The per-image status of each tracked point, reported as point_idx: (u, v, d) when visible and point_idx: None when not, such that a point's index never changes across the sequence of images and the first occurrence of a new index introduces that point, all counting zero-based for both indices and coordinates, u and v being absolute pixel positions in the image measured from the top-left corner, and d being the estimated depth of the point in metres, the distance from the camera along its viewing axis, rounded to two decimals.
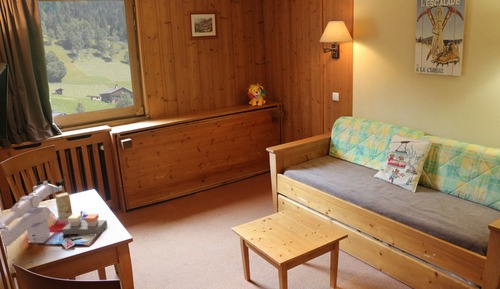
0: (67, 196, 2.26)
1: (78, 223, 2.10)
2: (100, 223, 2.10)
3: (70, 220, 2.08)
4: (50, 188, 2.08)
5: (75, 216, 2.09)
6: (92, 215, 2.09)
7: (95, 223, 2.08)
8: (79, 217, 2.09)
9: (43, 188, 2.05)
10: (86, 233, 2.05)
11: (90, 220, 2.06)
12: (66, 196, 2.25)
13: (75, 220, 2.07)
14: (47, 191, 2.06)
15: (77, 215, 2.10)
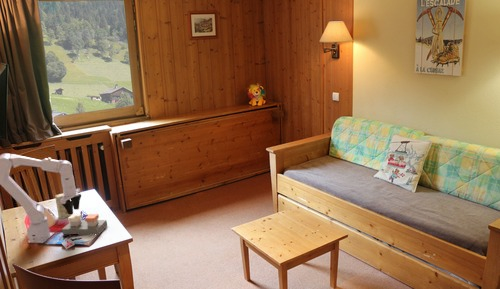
0: None
1: (78, 223, 2.10)
2: (100, 223, 2.10)
3: (70, 220, 2.08)
4: (68, 195, 2.03)
5: (75, 216, 2.09)
6: (92, 215, 2.09)
7: (95, 223, 2.08)
8: (79, 217, 2.09)
9: (71, 187, 2.03)
10: (86, 233, 2.05)
11: (90, 220, 2.06)
12: None
13: (75, 220, 2.07)
14: (66, 189, 2.03)
15: (77, 215, 2.10)
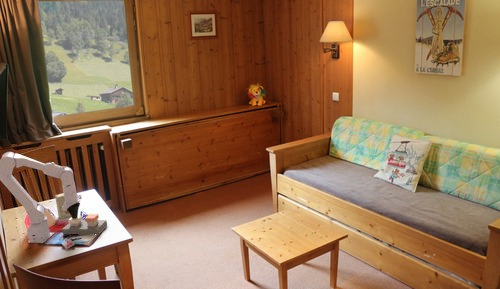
0: None
1: None
2: (100, 223, 2.10)
3: (70, 222, 2.08)
4: (69, 201, 2.04)
5: (76, 218, 2.09)
6: (92, 215, 2.09)
7: (95, 223, 2.08)
8: (79, 219, 2.10)
9: (73, 194, 2.04)
10: (86, 233, 2.05)
11: (90, 220, 2.06)
12: None
13: (75, 222, 2.07)
14: (68, 196, 2.03)
15: (77, 217, 2.10)
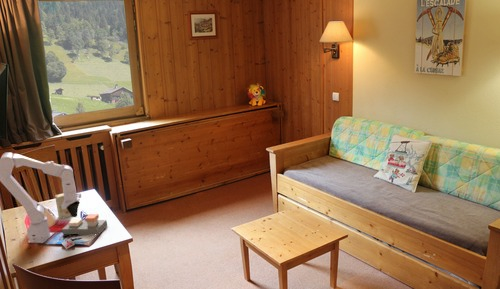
0: None
1: None
2: (100, 223, 2.10)
3: (71, 225, 2.08)
4: (69, 200, 2.04)
5: (76, 221, 2.09)
6: (92, 215, 2.09)
7: (95, 223, 2.08)
8: (80, 222, 2.10)
9: (72, 192, 2.04)
10: (86, 233, 2.05)
11: (90, 220, 2.06)
12: None
13: (76, 225, 2.08)
14: (67, 194, 2.03)
15: (78, 220, 2.10)
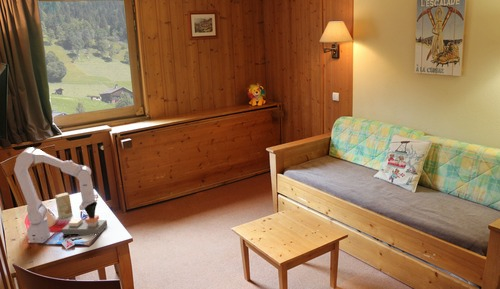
0: (67, 196, 2.26)
1: None
2: (100, 223, 2.10)
3: (71, 225, 2.08)
4: (87, 201, 2.03)
5: (76, 221, 2.09)
6: None
7: (95, 224, 2.08)
8: (80, 222, 2.10)
9: (90, 193, 2.03)
10: (86, 233, 2.05)
11: (90, 221, 2.06)
12: (66, 196, 2.25)
13: (76, 225, 2.08)
14: (85, 195, 2.02)
15: (78, 220, 2.10)
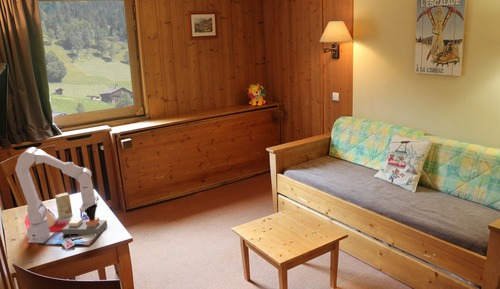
0: (67, 196, 2.26)
1: None
2: (100, 223, 2.10)
3: (71, 225, 2.08)
4: (87, 203, 2.03)
5: (76, 221, 2.09)
6: None
7: None
8: (80, 222, 2.10)
9: (90, 195, 2.03)
10: (86, 233, 2.05)
11: (91, 223, 2.06)
12: (66, 196, 2.25)
13: (76, 225, 2.08)
14: (86, 198, 2.02)
15: (78, 220, 2.10)
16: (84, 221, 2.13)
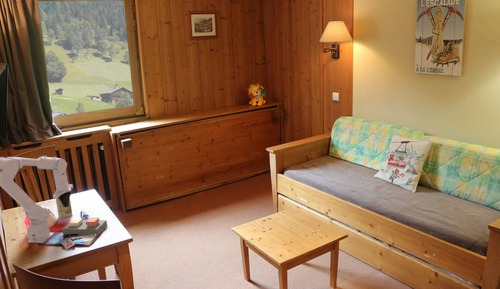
0: None
1: None
2: (100, 223, 2.10)
3: (71, 225, 2.08)
4: (61, 190, 2.10)
5: (76, 221, 2.09)
6: (93, 218, 2.09)
7: None
8: (80, 222, 2.10)
9: (64, 183, 2.10)
10: (86, 233, 2.05)
11: (91, 223, 2.06)
12: None
13: (76, 225, 2.08)
14: (59, 185, 2.09)
15: (78, 220, 2.10)
16: (84, 221, 2.13)
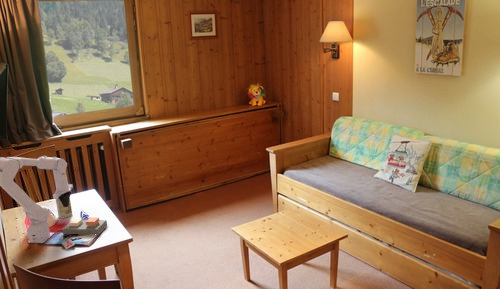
0: None
1: None
2: (100, 223, 2.10)
3: (71, 225, 2.08)
4: (61, 190, 2.10)
5: (76, 221, 2.09)
6: (93, 218, 2.09)
7: None
8: (80, 222, 2.10)
9: (64, 183, 2.10)
10: (86, 233, 2.05)
11: (91, 223, 2.06)
12: None
13: (76, 225, 2.08)
14: (59, 185, 2.09)
15: (78, 220, 2.10)
16: (84, 221, 2.13)
